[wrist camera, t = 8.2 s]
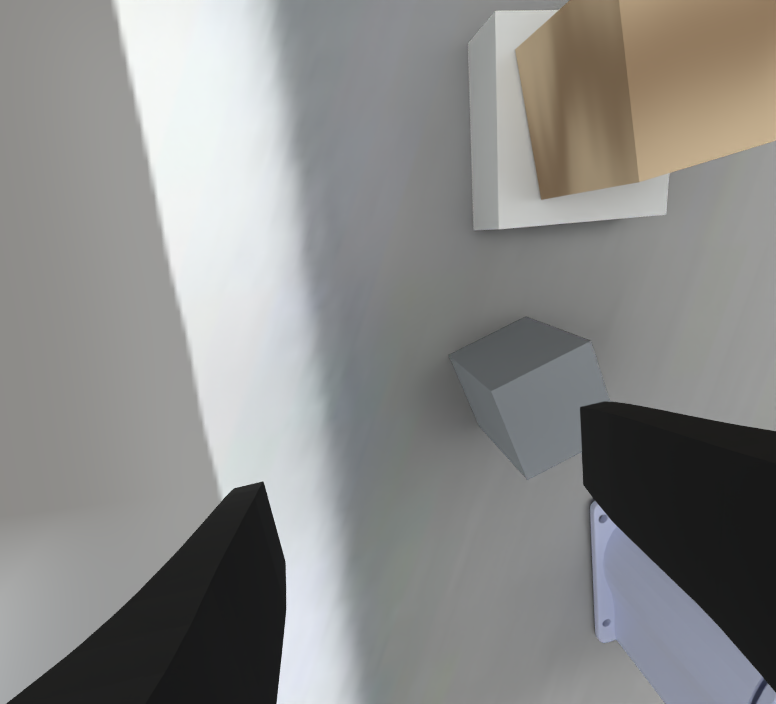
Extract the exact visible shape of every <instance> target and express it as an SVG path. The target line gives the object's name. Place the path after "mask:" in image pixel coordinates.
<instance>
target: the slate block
mask: <svg viewBox="0 0 776 704" xmlns="http://www.w3.org/2000/svg"><path fill="white" fill-rule="evenodd" d="M449 357H450V360H451V362H452V364H453V367H454V369H455V371H456V374H457V376H458V378H459V381H460V383H461V385H462V388H463V390H464V392H465V395H466V397H467V399H468V402H469V404H470V406H471V408H472V411H473V413H474V415H475V418H476V420H477V422H478V425H479V427H480V428H481V429H482V430H483V431H484V432H485V433H486V434H487V436H488V437H489V438H490V439H491V440H492V441H493V442H494V443H495V445H496V446H497V447H498V448H499V449H500V450H501V451H502V452H503V453H504V455H505V456H506V457H507V458H508V459H509V460H510V461H511V462H512V463H513V465H514V466H515V467H516V468H517V469H518V470H519V471H520V472H521V473H522V475H523V476H524V477H525V478H526V479H527V480H528V479H530V478H532V477H534V476H536V475H538V474H540V473H542V472H544V471H546V470H548V469H550V468H551V467H553V466H555V465H557V464H559V463H561V462H563V461H565V460H567V459H569V458H571V457H573V456H575V455H577V454H579V453H580V452H582V443H581V421H580V407H582V406H586V405H591V404H595V403H599V402H603V401H607V402H610V399H609V396H608V393H607V390H606V387H605V383H604V380H603V377H602V374H601V371H600V368H599V364H598V361H597V358H596V355H595V352H594V349H593V345H592V342H591V341H590V340H587V339H585V338H582V337H579V336H577V335H574V334H571V333H569V332H566V331H563V330H561V329H558V328H555V327H553V326H550V325H547V324H545V323H542V322H539V321H536V320H534V319H531V318H528V317H524V318H522V319H520V320H518V321H516V322H514V323H512V324H510V325H508V326H506V327H504V328H502V329H500V330H498V331H496V332H494V333H492V334H490V335H488V336H486V337H484V338H482V339H480V340H478V341H476V342H474V343H472V344H470V345H468V346H466V347H464V348H462V349H460V350H458V351H456V352H454V353H452V354H450V355H449Z"/></svg>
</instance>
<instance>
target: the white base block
mask: <svg viewBox="0 0 776 704" xmlns="http://www.w3.org/2000/svg"><path fill="white" fill-rule="evenodd" d="M557 11H558V10H524V11H495V12H494V13H493V14H492V15H491V16H490V18H489V19H488V20H487V21H486V22H485V24H484V25H483V26H482V27H481V28H480V30H479V31H478V32H477V33H476V34H475V36H474V37H473V38H472V39H471V40H470V42H469V43H468V62H469V95H470V129H471V163H472V197H473V230H494V229H508V228H519V227H531V226H542V225H554V224H565V223H576V222H588V221H599V220H611V219H622V218H633V217H645V216H656V215H666V210H667V197H668V185H669V173H668V174H664V175H661V176H658V177H655V178H651V179H648V180H645V181H641V182H637V183H632V184H626V185H621V186H615V187H610V188H604V189H599V190H593V191H587V192H582V193H576V194H571V195H565V196H560V197H554V198H549V199H543V200H541V196H540V190H539V185H538V179H537V173H536V167H535V161H534V156H533V150H532V144H531V138H530V133H529V127H528V121H527V115H526V109H525V104H524V98H523V92H522V86H521V80H520V75H519V69H518V63H517V57H516V52H515V49H516V48H517V47H519V46H520V45H521V44H522V43H523V42H524V41H525V40H526V39H527V38H528V37H530V36H531V35H532V34H533V33H534V32H535V31H536V30H537V29H538V28H540V27H541V26H542V25H543V24H544V23H545V22H546V21H547V20H548V19H550V18H551V17H552V16H553V15H554V14H555V13H556V12H557Z"/></svg>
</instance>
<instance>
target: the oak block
mask: <svg viewBox="0 0 776 704" xmlns="http://www.w3.org/2000/svg"><path fill="white" fill-rule="evenodd" d="M515 52H516V57H517V63H518V69H519V75H520V80H521V86H522V92H523V98H524V104H525V109H526V115H527V121H528V127H529V133H530V138H531V144H532V150H533V156H534V161H535V167H536V173H537V179H538V185H539V190H540V196H541V200H543V199H549V198H554V197H560V196H565V195H571V194H576V193H582V192H587V191H593V190H599V189H604V188H610V187H615V186H621V185H626V184H632V183H637V182H641V181H645V180H648V179H651V178H655V177H658V176H661V175H664V174H668V173H671V172H674V171H678V170H681V169H684V168H687V167H691V166H694V165H697V164H701V163H704V162H707V161H710V160H714V159H717V158H720V157H724V156H727V155H730V154H733V153H737V152H740V151H743V150H747V149H750V148H753V147H756V146H760V145H763V144H766V143H770V142H773V141H776V0H570V1H568V2H567V3H566V4H565V5H564V6H563V7H562V8H561V9H560V10H558V11H557V12H556V13H555V14H554V15H553V16H552V17H551V18H550V19H548V20H547V21H546V22H545V23H544V24H543V25H542V26H541V27H540V28H538V29H537V30H536V31H535V32H534V33H533V34H532V35H531V36H530V37H528V38H527V39H526V40H525V41H524V42H523V43H522V44H521V45H520V46H519V47H517V48H516V49H515Z"/></svg>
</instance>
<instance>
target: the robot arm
mask: <svg viewBox="0 0 776 704" xmlns="http://www.w3.org/2000/svg"><path fill="white" fill-rule="evenodd" d="M580 421H581V443H582V464H583V485H584V486H585V488H586V489H587V490H588V492H589V493H590V494H591V496H592V497H593V498H594V499H595V501H594V502H593V503H592V504H591V506H590V520H591V543H592V567H593V590H594V614H595V634H596V637H597V638H598V640H599V641H600V642H602V643H608V642H611V641H614V640H617V641H618V642H619V644H620V645H621V646H622V648H623V649H624V650H625V652H626V653H627V654H628V655H629V657H630V658H631V659H632V661H633V662H634V663H635V665H636V666H637V667H638V669H639V670H640V671H641V672H642V674H643V675H644V676H645V678H646V679H647V680H648V682H649V683H650V684H651V686H652V687H653V688H654V689H655V691H656V692H657V693H658V695H659V696H660V697H661V699H662V700H663V701H664V702H665V704H776V431H770V430H764V429H758V428H752V427H746V426H740V425H735V424H729V423H724V422H719V421H713V420H708V419H703V418H698V417H693V416H688V415H683V414H678V413H673V412H668V411H663V410H658V409H653V408H648V407H643V406H637V405H632V404H625V403H618V402H607V401H603V402H599V403H595V404H591V405H586V406H582V407H580ZM601 515H602V517H601V518H599V517H600V516H601ZM285 617H286V565H285V559H284V555H283V551H282V548H281V544H280V540H279V537H278V533H277V529H276V526H275V522H274V518H273V515H272V511H271V507H270V504H269V500H268V496H267V493H266V489H265V485H264V482H259V483H255V484H251V485H246V486H242V487H238V488H234V489H233V490H232V491H231V492H230V493H229V494H228V495H227V496H226V497H225V498H224V499H223V500H222V502H221V503H220V504H219V505H218V506H217V507H216V509H215V510H214V511H213V512H212V513H211V514H210V516H208V518H207V519H206V520H205V521H204V522H203V524H201V526H200V527H199V528H198V529H197V530H196V531H195V532H194V533H193V535H192V536H191V537H190V538H189V539H188V540H187V541H186V543H185V544H184V545H183V546H182V547H181V548H180V549H179V551H177V552H176V553H175V555H174V556H173V557H172V558H171V559H170V560H169V561H168V562H167V563H166V564H165V565H164V566H163V567H162V568H161V569H160V570H159V571H158V572H157V573H156V574H155V575H154V576H153V577H152V578H151V579H150V580H149V581H148V582H147V583H146V584H145V586H143V587H142V588H141V590H140V591H139V592H138V593H137V594H136V595H135V596H133V597H132V598H131V599H130V600H129V601H128V602H127V603H126V604H125V605H124V606H123V607H122V608H121V609H120V610H119V611H118V612H117V613H116V614H114V616H112V617H111V618H110V619H109V620H108V621H107V622H105V623H104V624H103V625H102V626H101V627H100V628H99V629H98V630H96V631H95V632H94V633H93V634H92V635H91V636H90V637H89V638H87V639H86V640H85V641H84V642H83V643H82V644H81V645H79V646H78V647H77V648H76V649H75V650H73V651H72V652H71V653H70V654H69V655H67V657H65V658H64V659H63V660H61V661H60V662H59V663H57V664H56V665H55V666H54V667H52V668H51V669H50V670H49V671H47V672H46V673H45V674H43V675H42V676H41V677H40V678H38V679H37V680H36V681H35V682H33V683H32V684H31V685H29V686H28V687H27V688H26V689H24V690H23V691H22V692H21V693H19V694H18V695H17V696H16V697H14V698H13V699H12V700H10V701H9V702H8V703H7V704H276V702H277V693H278V684H279V674H280V665H281V656H282V646H283V637H284V627H285Z"/></svg>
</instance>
